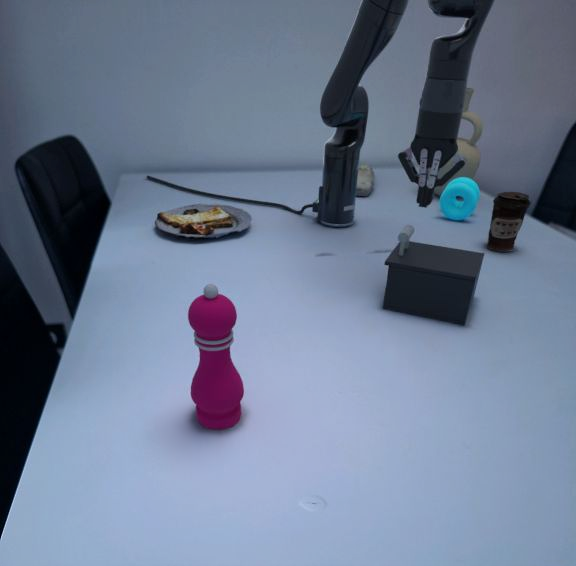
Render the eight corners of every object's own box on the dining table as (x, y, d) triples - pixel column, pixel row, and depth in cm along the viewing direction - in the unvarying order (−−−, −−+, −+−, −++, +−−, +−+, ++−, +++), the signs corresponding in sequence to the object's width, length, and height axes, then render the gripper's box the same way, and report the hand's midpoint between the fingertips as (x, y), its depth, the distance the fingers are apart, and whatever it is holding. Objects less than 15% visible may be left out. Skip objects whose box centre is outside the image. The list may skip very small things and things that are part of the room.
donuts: (435, 218, 150) (442, 182, 144) (441, 209, 158) (447, 174, 152) (472, 224, 147) (480, 186, 141) (475, 214, 155) (483, 178, 149)
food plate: (171, 249, 127) (169, 234, 125) (145, 220, 143) (143, 207, 141) (265, 234, 136) (265, 220, 134) (231, 209, 153) (230, 196, 151)
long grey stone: (343, 200, 167) (374, 203, 167) (345, 183, 164) (377, 186, 164) (344, 167, 195) (371, 170, 194) (346, 152, 191) (373, 155, 191)
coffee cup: (520, 256, 128) (535, 201, 121) (484, 252, 129) (497, 198, 122) (514, 243, 135) (529, 191, 128) (481, 240, 136) (493, 188, 129)
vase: (478, 193, 173) (502, 88, 156) (463, 205, 161) (486, 93, 144) (429, 185, 180) (447, 84, 163) (411, 196, 169) (427, 88, 151)
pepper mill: (194, 401, 78) (182, 272, 66) (244, 399, 78) (240, 272, 67) (191, 433, 72) (177, 298, 60) (245, 431, 72) (241, 297, 61)
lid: (384, 265, 99) (388, 237, 96) (400, 243, 108) (404, 217, 105) (475, 281, 93) (482, 252, 90) (483, 257, 103) (490, 230, 100)
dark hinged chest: (382, 308, 103) (388, 266, 98) (398, 284, 113) (404, 244, 108) (464, 325, 99) (475, 281, 93) (473, 298, 108) (483, 257, 103)
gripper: (482, 108, 94) (460, 206, 104) (409, 101, 98) (395, 196, 109) (476, 114, 89) (454, 217, 99) (399, 106, 93) (385, 206, 103)
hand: (423, 206), depth 104 cm, fingers closed
